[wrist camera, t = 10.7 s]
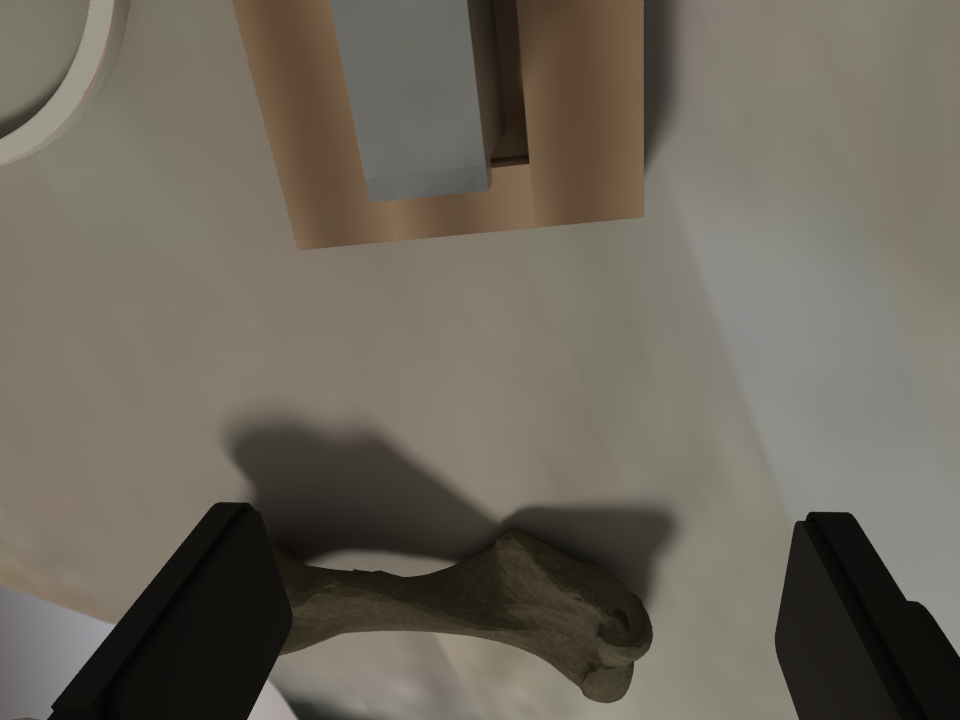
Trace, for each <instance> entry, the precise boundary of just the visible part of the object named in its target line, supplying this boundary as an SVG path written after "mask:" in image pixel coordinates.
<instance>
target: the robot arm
mask: <svg viewBox="0 0 960 720" xmlns="http://www.w3.org/2000/svg"><path fill="white" fill-rule="evenodd" d="M292 621H293V614H292V610H291V606H290V603H289V600H288V597H287V594H286V591H285V588H284V585H283V581H282V578H281V575H280V572H279V569H278V566H277V563H276V560H275V556H274V553H273V550H272V547H271V544H270V541H269V538H268V535H267V532H266V528H265V525H264V522H263V519H262V516H261V514H260V513H259V512H258V511H254V509H253V507H252V506H251V505H250V504H249V503H233V502H219V503H216V504H214V505H213V506H212V507H211V508H210V509H209V511H208V512H207V513H206V514H205V516H204V517H203V518H202V519H201V521H200V522H199V523H198V524H197V526H196V527H195V528H194V529H193V531H192V532H191V533H190V534H189V536H188V537H187V538H186V539H185V541H184V542H183V543H182V544H181V546H180V547H179V548H178V549H177V551H176V552H175V553H174V554H173V555H172V557H171V558H170V559H169V560H168V562H167V563H166V564H165V565H164V567H163V568H162V569H161V570H160V572H159V573H158V574H157V575H156V577H155V578H154V579H153V580H152V582H151V583H150V584H149V585H148V587H147V588H146V589H145V590H144V592H143V593H142V594H141V595H140V597H139V598H138V599H137V600H136V601H135V603H134V604H133V605H132V606H131V608H130V609H129V610H128V611H127V613H126V614H125V615H124V616H123V618H122V619H121V620H120V621H119V623H118V624H117V625H116V626H115V628H114V629H113V630H112V632H111V633H110V634H109V635H108V636H107V638H106V639H105V640H104V641H103V643H102V644H101V645H100V646H99V648H98V649H97V650H96V651H95V652H94V654H93V655H92V656H91V657H90V659H89V660H88V661H87V662H86V664H85V665H84V666H83V667H82V669H81V670H80V671H79V673H78V674H77V675H76V676H75V677H74V679H73V680H72V681H71V682H70V684H69V685H68V686H67V687H66V689H65V690H64V691H63V692H62V694H61V695H60V696H59V697H58V698H57V700H56V701H55V702H54V703H53V705H52V706H51V708H52V709H53V711H54V712H53V713H52V714H51V715H50V717H49V718H48V719H47V720H247V719H248V717H249V715H250V713H251V711H252V709H253V707H254V705H255V702H256V700H257V698H258V696H259V694H260V692H261V690H262V688H263V686H264V684H265V682H266V680H267V678H268V676H269V674H270V672H271V670H272V668H273V666H274V664H275V662H276V660H277V658H278V656H279V654H280V651H281V649H282V647H283V645H284V643H285V641H286V639H287V637H288V635H289V633H290V630H291V627H292ZM775 647H776V653H777V657H778V660H779V663H780V666H781V669H782V672H783V675H784V677H785V680H786V683H787V686H788V689H789V692H790V695H791V697H792V700H793V703H794V706H795V709H796V712H797V715H798V717H799V720H960V657H959V656H958V654H957V653H956V651H955V650H954V648H953V647H952V645H951V643H950V642H949V640H948V639H947V637H946V636H945V634H944V633H943V631H942V630H941V628H940V627H939V625H938V624H937V622H936V621H935V619H934V618H933V616H932V615H931V614H930V612H929V611H928V610H927V609H926V608H925V607H924V606H923V605H921V604H920V603H918V602H915V601H907V600H906V598H905V597H904V595H903V594H902V592H901V590H900V589H899V587H898V586H897V584H896V582H895V581H894V579H893V578H892V576H891V574H890V573H889V571H888V570H887V568H886V566H885V565H884V563H883V562H882V560H881V558H880V557H879V555H878V554H877V552H876V551H875V549H874V547H873V546H872V544H871V543H870V541H869V539H868V538H867V536H866V535H865V533H864V531H863V530H862V528H861V527H860V525H859V523H858V522H857V520H856V519H855V518H854V516H853V515H852V514H850V513H848V512H809V514H808V515H807V517H806V521H797V522H796V523H795V526H794V531H793V537H792V542H791V548H790V553H789V559H788V565H787V570H786V576H785V581H784V587H783V593H782V598H781V604H780V610H779V615H778V621H777V626H776V632H775ZM13 720H38V719H33V718H20V719H13Z"/></svg>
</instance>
